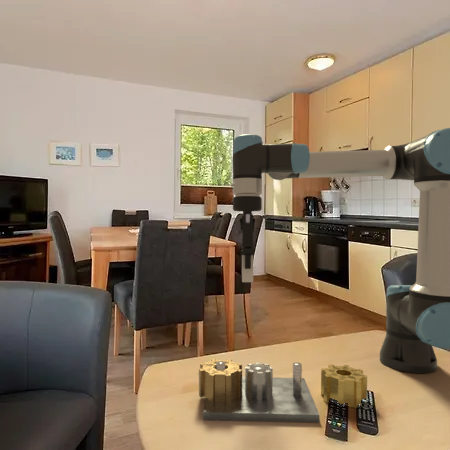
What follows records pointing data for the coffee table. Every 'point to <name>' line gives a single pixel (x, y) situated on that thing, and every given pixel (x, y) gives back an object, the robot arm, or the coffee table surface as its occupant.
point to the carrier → (266, 398)
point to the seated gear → (220, 381)
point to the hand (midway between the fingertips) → (247, 277)
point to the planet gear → (343, 384)
